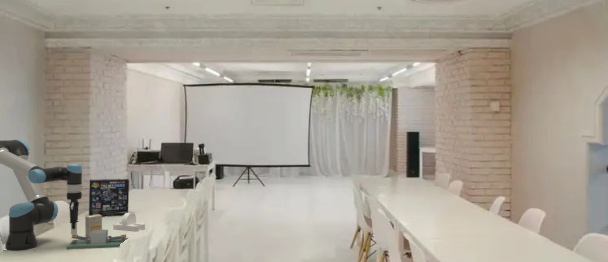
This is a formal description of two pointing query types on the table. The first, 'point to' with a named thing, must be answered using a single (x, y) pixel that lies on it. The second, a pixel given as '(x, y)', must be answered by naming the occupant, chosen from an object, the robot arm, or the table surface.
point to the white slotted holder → (129, 223)
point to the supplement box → (92, 224)
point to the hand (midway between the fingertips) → (73, 234)
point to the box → (108, 197)
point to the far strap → (117, 237)
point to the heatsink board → (96, 241)
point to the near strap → (79, 237)
